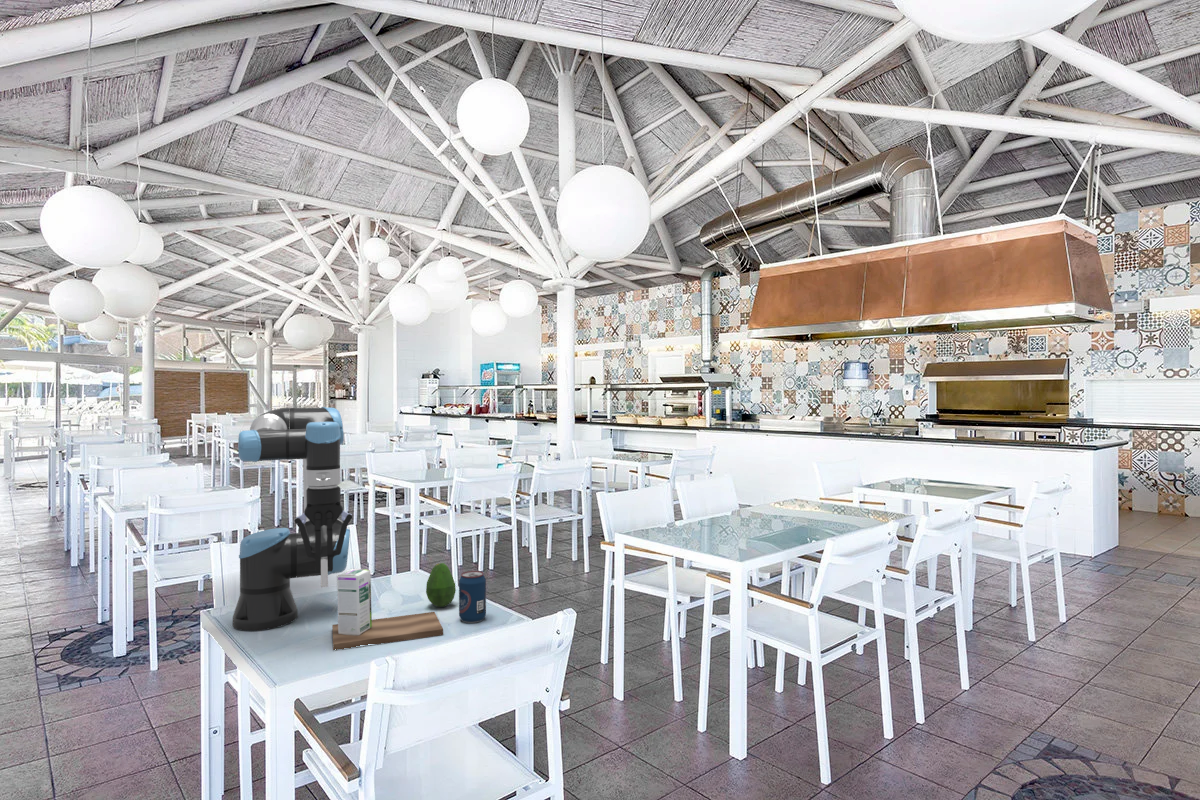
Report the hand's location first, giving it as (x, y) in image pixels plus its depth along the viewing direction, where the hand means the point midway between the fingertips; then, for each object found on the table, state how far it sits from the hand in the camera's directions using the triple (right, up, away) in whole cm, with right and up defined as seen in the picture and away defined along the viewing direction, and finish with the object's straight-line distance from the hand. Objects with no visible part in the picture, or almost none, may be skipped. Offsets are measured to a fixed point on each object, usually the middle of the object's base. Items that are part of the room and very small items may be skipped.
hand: (324, 585), depth 158 cm
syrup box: (+6, -12, +3) cm, 14 cm away
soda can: (+32, -13, +15) cm, 38 cm away
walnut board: (+13, -13, +6) cm, 20 cm away
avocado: (+21, -13, +26) cm, 36 cm away
